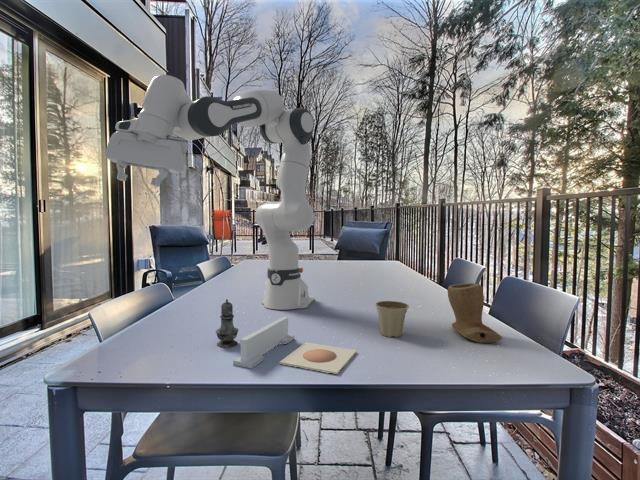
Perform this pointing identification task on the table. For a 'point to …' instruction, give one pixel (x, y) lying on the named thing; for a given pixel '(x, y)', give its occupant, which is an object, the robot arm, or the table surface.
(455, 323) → the brown boot
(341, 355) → the mat
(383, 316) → the flower pot
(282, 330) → the acrylic wall
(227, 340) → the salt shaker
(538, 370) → the table surface
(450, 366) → the table surface
